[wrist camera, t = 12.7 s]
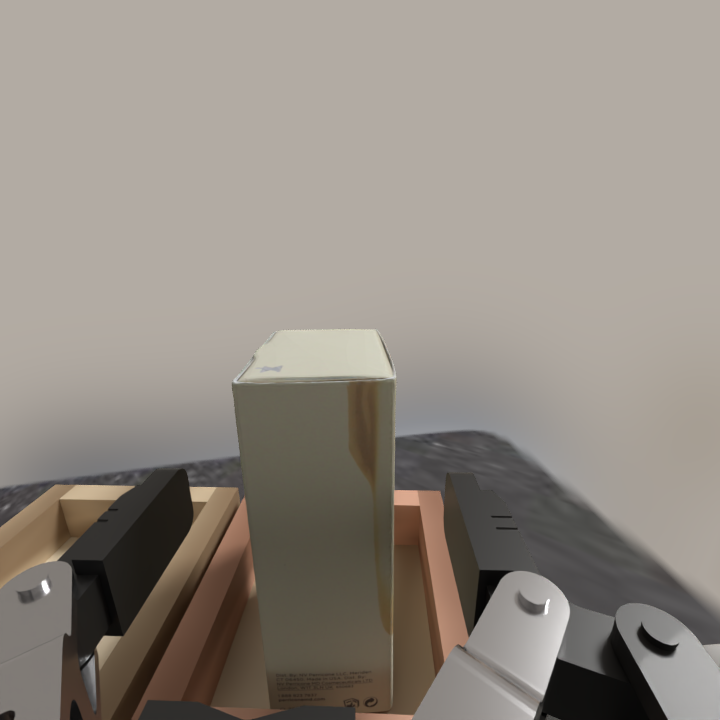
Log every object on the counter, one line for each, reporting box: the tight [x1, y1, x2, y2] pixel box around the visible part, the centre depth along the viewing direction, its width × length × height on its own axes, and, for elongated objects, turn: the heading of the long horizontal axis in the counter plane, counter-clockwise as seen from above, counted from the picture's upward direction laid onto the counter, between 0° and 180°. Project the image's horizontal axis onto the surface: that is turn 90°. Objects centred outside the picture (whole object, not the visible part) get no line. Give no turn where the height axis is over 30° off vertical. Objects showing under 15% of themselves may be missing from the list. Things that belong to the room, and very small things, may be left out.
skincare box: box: [232, 329, 396, 713], centre depth 14 cm, size 6×4×12 cm
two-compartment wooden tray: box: [0, 485, 469, 720], centre depth 16 cm, size 26×12×4 cm, turn 88°
